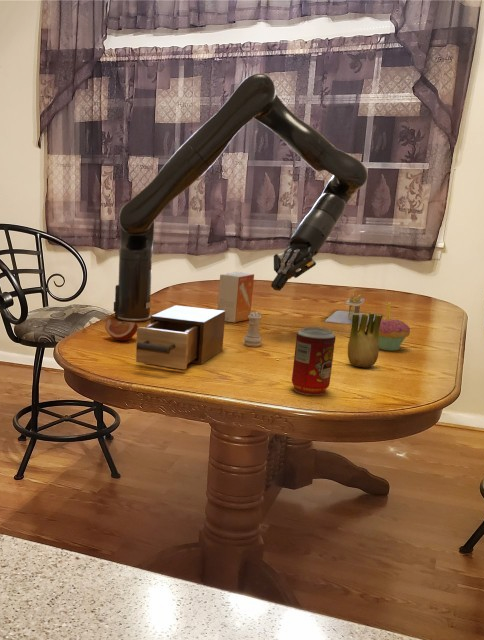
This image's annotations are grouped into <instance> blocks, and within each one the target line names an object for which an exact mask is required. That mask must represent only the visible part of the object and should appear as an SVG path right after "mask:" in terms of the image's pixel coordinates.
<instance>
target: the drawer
mask: <svg viewBox="0 0 484 640" xmlns="http://www.w3.org/2000/svg"><path fill="white" fill-rule="evenodd" d="M200 326H201V325H193V324H185V323H176V322H168V321H160V320H158V321H156V322H154V323H152V324H151V323H149V324H148V325H145V326H138V327H137V332H136V351H135V353H136V354H135V362H136V363H139V364H146V365H151V366H158V367H165V368H171V369H177V370H186V369H187V368H188V364H191V363H190V362H191V361H193V360H194V359H196V358H198V355H199V339H200Z"/></svg>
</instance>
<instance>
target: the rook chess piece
mask: <svg viewBox="0 0 484 640" xmlns="http://www.w3.org/2000/svg"><path fill="white" fill-rule="evenodd" d="M248 317H249V319H248V328H247V332H246V333H245V336H244V337H243V340H244V341H243V345H244V346H246V347H249V348H257V347H261V346H262V345H263V343H262V341H263V338H262V337H261V333H260V324H261V321H260V320H261V319H262V316H261V312H259V311H257V312H256V311H251V312H250V315H249V316H248Z"/></svg>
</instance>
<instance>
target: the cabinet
mask: <svg viewBox="0 0 484 640" xmlns="http://www.w3.org/2000/svg"><path fill="white" fill-rule="evenodd" d="M158 320H160V321H168V322H176V323H185V324H193V325H201V326H200V339H199V355H198V358H196V359H194V360H193V361H191V362H190V363H189V364H194V365H195V364H196V365H203V364H205V363H206V362H207V361H209V360H210V359H211V358H213V357H214V356H216V355H217V354H219V353H220V352H221V351H223V348H224V347H223V346H224V335H225V333H224V332H225V322H226V321H225V311H223V310H218V309H214V308H204V307H195V306H184V305H175V304H174V305H172V306H171V307H168V308H165V309H164V310H161V311H159V312H157V313H155V314H152V315H150V324H152V323H154V322H156V321H158Z"/></svg>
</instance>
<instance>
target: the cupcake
mask: <svg viewBox="0 0 484 640" xmlns="http://www.w3.org/2000/svg"><path fill="white" fill-rule="evenodd" d="M391 304H392V303H391V302H390V299H388V302H387V308H386V318H385V319H384V318H382V319H381V324H380V328H379V350H383V351H392V352H393V351H399V349H400V348H401V345H402V343H403V342H404V340H405V339H406V338H408V337H409V336H410V335H411V327H410V326H409V325H408V324H406V323H405V322H404V321H401V320H400V319H395V318H391V308H392V307H391V306H392V305H391Z"/></svg>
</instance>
